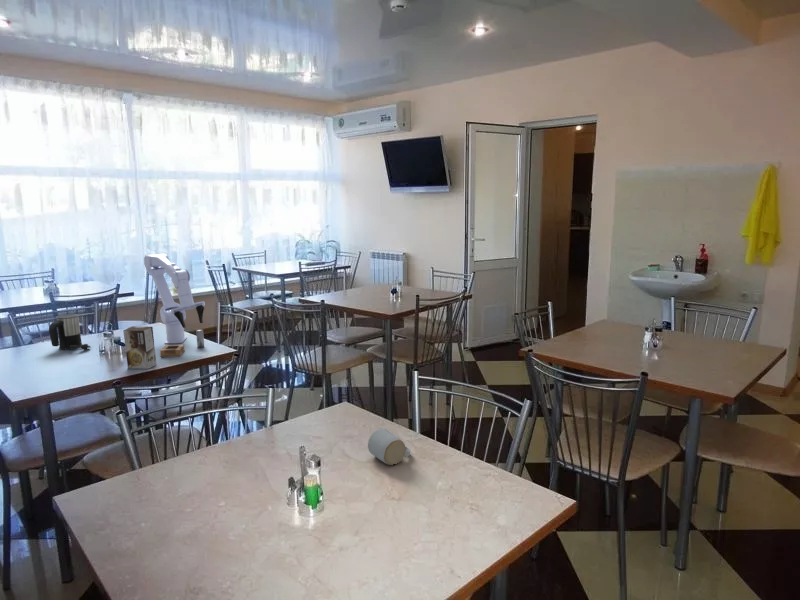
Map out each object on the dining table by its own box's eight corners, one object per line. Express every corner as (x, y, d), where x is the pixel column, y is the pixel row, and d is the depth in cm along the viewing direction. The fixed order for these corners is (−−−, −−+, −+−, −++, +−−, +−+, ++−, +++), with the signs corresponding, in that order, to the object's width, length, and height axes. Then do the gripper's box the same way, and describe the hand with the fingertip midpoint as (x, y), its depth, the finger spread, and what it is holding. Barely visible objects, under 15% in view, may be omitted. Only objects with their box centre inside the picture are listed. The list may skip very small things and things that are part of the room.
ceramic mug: (385, 470, 135) (385, 442, 134) (367, 458, 141) (367, 431, 140) (417, 459, 141) (418, 432, 140) (398, 447, 148) (399, 421, 146)
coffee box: (157, 364, 219) (153, 326, 216) (148, 369, 213) (144, 330, 210) (136, 363, 220) (132, 325, 217) (126, 368, 214) (122, 329, 211)
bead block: (165, 351, 237) (165, 345, 236) (184, 350, 238) (184, 344, 237) (160, 357, 229) (160, 350, 228) (180, 356, 230) (179, 349, 229)
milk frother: (66, 344, 248) (62, 313, 245) (101, 343, 249) (97, 313, 246) (48, 353, 234) (44, 320, 231) (85, 352, 235) (81, 320, 232)
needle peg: (198, 346, 245) (196, 329, 243) (205, 346, 245) (203, 329, 244) (196, 348, 242) (195, 331, 240) (203, 348, 242) (202, 331, 241)
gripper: (166, 299, 234) (173, 329, 233) (199, 290, 235) (206, 320, 234) (171, 301, 241) (178, 330, 240) (203, 292, 242) (210, 321, 241)
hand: (192, 325), depth 237 cm, fingers open, 7 cm apart
